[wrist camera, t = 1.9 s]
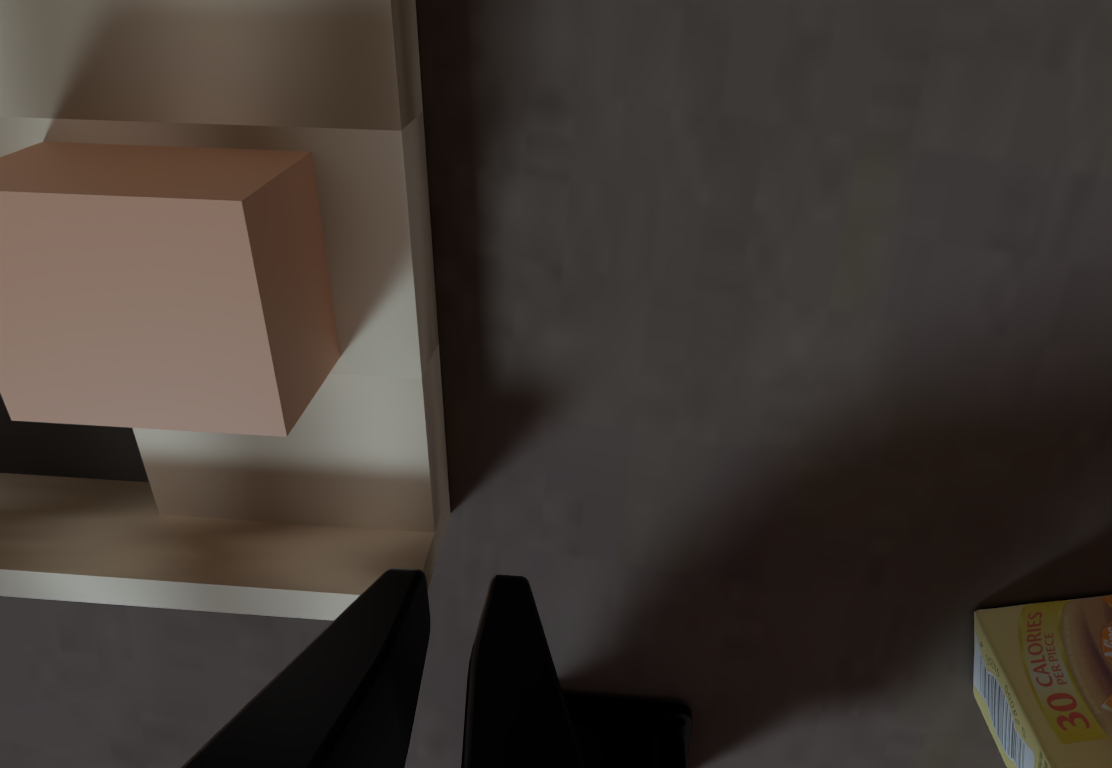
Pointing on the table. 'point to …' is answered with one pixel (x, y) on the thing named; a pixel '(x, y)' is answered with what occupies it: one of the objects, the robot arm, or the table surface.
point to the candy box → (1047, 681)
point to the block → (162, 287)
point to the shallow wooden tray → (357, 293)
